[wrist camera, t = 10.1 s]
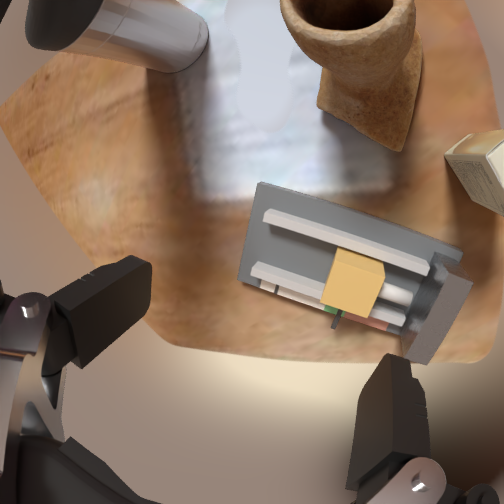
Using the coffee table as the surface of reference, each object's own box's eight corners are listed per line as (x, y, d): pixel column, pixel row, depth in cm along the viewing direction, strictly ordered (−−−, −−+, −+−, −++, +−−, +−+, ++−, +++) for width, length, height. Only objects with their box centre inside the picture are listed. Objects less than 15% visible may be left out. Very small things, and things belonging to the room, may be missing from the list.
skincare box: (496, 180, 23) (555, 200, 13) (471, 202, 25) (522, 232, 15) (467, 130, 23) (520, 124, 12) (440, 152, 25) (485, 155, 14)
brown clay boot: (322, 3, 23) (291, -75, 10) (426, 32, 21) (461, -35, 8) (292, 119, 30) (239, 97, 16) (399, 154, 27) (434, 157, 14)
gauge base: (241, 274, 38) (230, 286, 35) (261, 181, 33) (251, 185, 30) (418, 334, 32) (421, 351, 29) (459, 248, 27) (469, 259, 24)
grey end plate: (399, 327, 31) (403, 358, 26) (434, 251, 27) (448, 272, 22) (420, 333, 31) (426, 365, 25) (456, 259, 27) (473, 282, 21)
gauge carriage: (315, 311, 34) (307, 333, 30) (338, 244, 31) (334, 260, 26) (384, 334, 32) (385, 359, 28) (414, 270, 29) (422, 290, 24)
